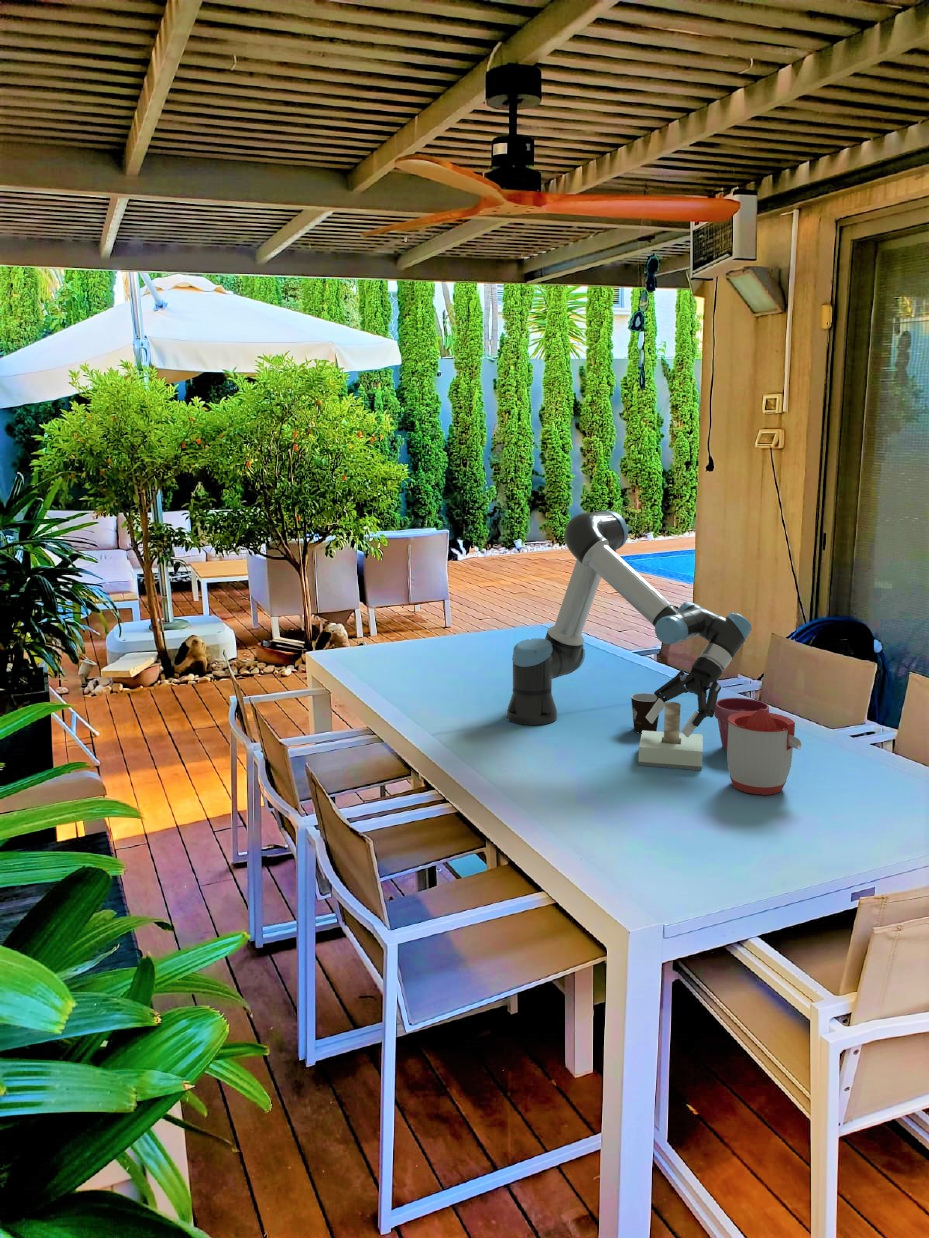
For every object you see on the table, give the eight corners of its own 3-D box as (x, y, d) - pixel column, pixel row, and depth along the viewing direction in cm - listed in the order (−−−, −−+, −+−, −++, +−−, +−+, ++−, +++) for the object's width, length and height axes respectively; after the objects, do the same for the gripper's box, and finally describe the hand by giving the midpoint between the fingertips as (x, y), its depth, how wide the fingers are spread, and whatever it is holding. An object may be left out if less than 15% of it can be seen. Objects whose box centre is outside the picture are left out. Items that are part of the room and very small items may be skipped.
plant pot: (730, 737, 268) (732, 693, 266) (776, 749, 258) (779, 703, 256) (702, 749, 258) (704, 704, 256) (749, 761, 249) (752, 715, 246)
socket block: (638, 765, 246) (638, 746, 245) (641, 747, 260) (642, 730, 259) (701, 770, 243) (702, 751, 242) (701, 752, 256) (702, 734, 255)
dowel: (662, 756, 250) (664, 705, 247) (663, 751, 253) (665, 701, 251) (678, 758, 249) (680, 706, 246) (678, 753, 253) (680, 702, 250)
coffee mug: (660, 736, 270) (661, 702, 268) (629, 734, 271) (630, 700, 269) (660, 723, 281) (661, 691, 279) (630, 722, 282) (631, 689, 280)
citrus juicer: (789, 805, 220) (795, 723, 216) (715, 791, 229) (719, 711, 225) (805, 784, 233) (810, 706, 229) (734, 771, 242) (738, 695, 238)
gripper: (753, 683, 244) (708, 748, 240) (684, 662, 265) (641, 722, 261) (739, 665, 241) (693, 732, 236) (671, 646, 262) (627, 707, 257)
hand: (666, 727), depth 248 cm, fingers open, 13 cm apart
